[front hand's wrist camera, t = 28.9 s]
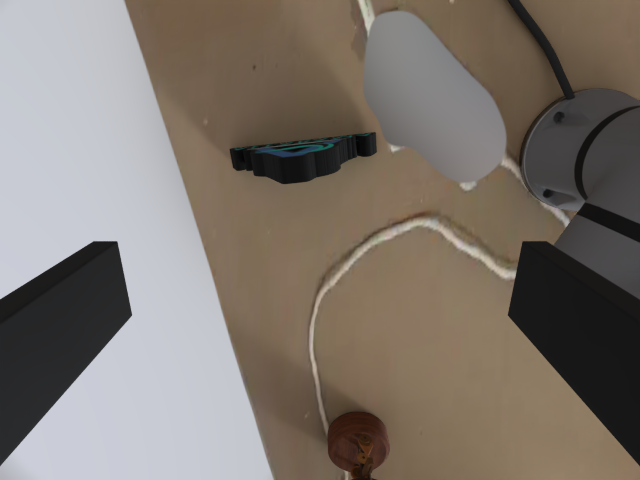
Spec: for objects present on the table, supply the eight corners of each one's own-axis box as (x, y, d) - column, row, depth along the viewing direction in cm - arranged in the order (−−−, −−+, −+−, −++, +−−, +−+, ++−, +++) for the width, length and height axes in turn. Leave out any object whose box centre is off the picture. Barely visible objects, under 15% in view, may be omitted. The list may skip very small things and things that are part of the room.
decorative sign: (234, 167, 50) (200, 193, 36) (230, 148, 49) (195, 167, 35) (375, 151, 49) (398, 171, 35) (374, 132, 49) (397, 145, 34)
